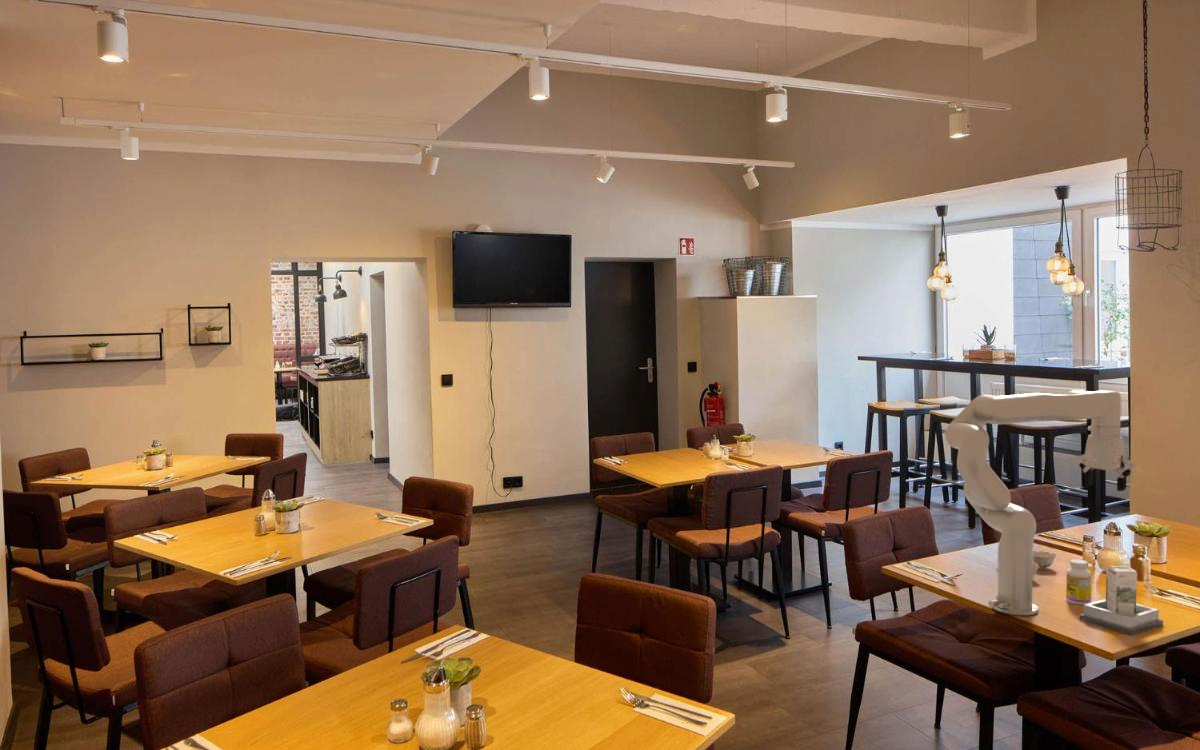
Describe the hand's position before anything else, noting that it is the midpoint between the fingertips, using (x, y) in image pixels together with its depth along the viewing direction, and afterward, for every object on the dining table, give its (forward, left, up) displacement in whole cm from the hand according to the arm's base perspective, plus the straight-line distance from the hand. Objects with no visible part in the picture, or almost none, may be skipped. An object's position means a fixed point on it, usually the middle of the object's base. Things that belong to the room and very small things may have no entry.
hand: (1105, 487), depth 258 cm
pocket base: (-10, -11, -36) cm, 39 cm away
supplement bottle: (-3, +6, -36) cm, 37 cm away
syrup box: (-10, -11, -35) cm, 38 cm away
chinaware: (+12, +35, -37) cm, 52 cm away
